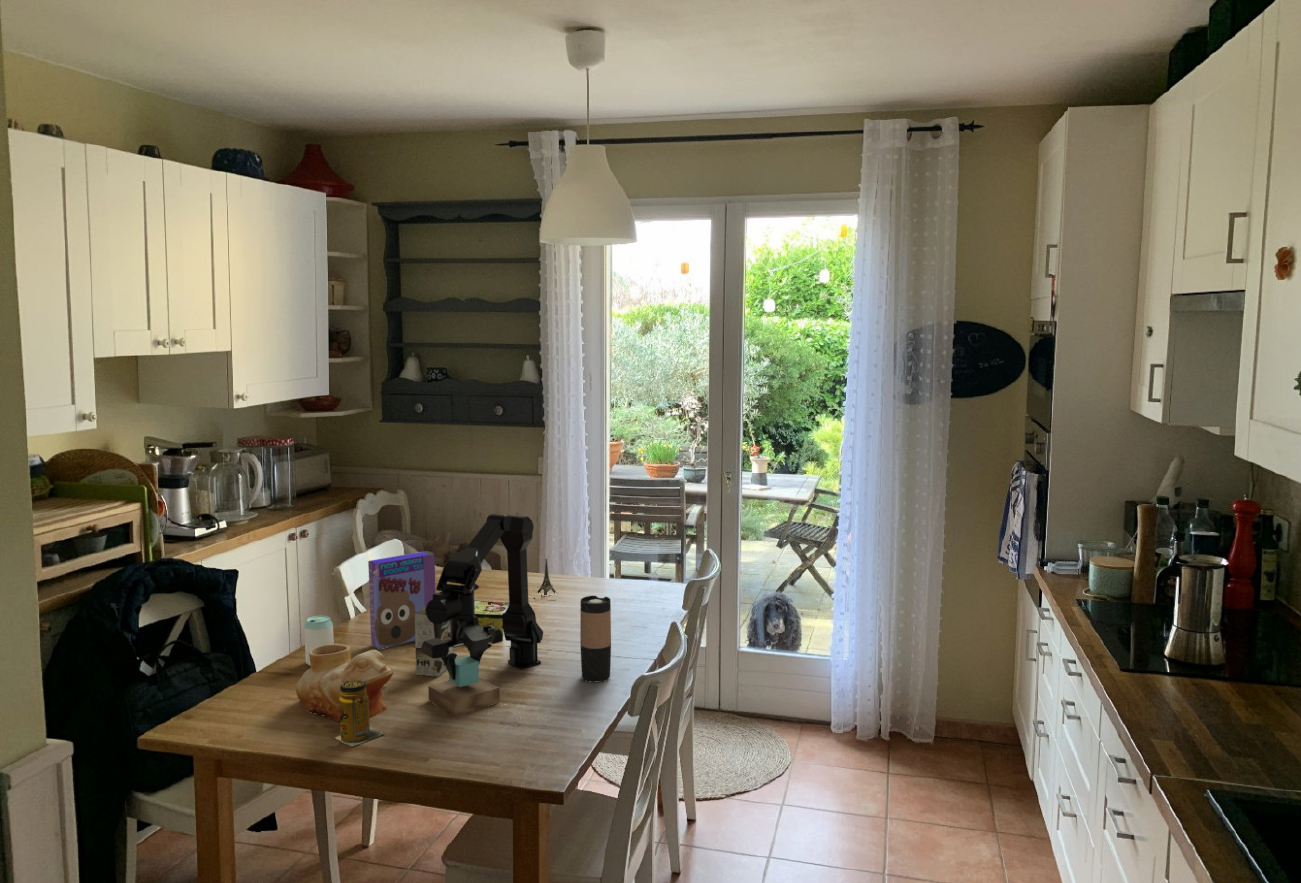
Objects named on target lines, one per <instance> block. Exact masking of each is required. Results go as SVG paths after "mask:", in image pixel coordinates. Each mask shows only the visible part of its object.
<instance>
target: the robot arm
mask: <svg viewBox="0 0 1301 883" xmlns="http://www.w3.org/2000/svg"><path fill="white" fill-rule="evenodd" d="M533 533H534V523H533V520H532V519H531V518H530V517H529V516H526V515H518V514H516V515H515V514H500V513H492V514H489V515H488V516H487V518H486V521H485V523H484V524H483V526H482V527H481V528H480V529H479V531H478V532H477V533H476V535H475V536H474V537H473V538H472V539H471V540H470V542H469V543H468V545H467V546H466V547H465V548H464V549H462V550H460V551H457V552H455V553H454V554H453V555H451V557H449V558H448V559H447V560H446V561H445V563H444V566H443V568H442V570H441V574H440V577H439V580H438V582H437V585H436V586H435V591H438V592H436V593H435V594H433V600H431V601H429V602H428V604H427V606H426V608H425V612H426V616H427V618H428V619H429V621H430V622H432V623H433V624H436V625H438V624H442V623H444V622H446V621H448V620H449V621H450V632H448V633H447V637H449V638H450V640H447V641H443V640H441V639H439V638H435V639H430V640H426V641H424V642H423V644H422V646H421V649H422V653H423V654H425V655H427V656H429V657H431V658H440V657H441V659H442V660H443V662H444V664H445V666H446V668H447V670H446V671H447V672H448V675H449V674H450V676H451V679H453V680H455V678H456V670H455V659H457V658H458V657H457V656H458V654H457V653H455V652H454V648H458V647H462V646H465V648H466V649H467V651H469V657H471V658H473V659H475V660H477V661H478V662H479V664H480V663H481V659H482V657H483V655H484V653H485V652H486V651H487V650H488V649H490V648H492V645H495V644H497V643H502V642H503V641H504V640H505V642H510V647H509V649H508V650H509V660H507V663H508V664H510V665H513V666H514V667H516V668H518V669H525V668H528V667H532V666H535V665H540V664H542V661H541V660H539V658H538V644H540V643H542V640H543V637H544V630H543V629H542V628H541V626H540V625H539V624H538V623H537V618H536V612H535V611H534V609H533V608H532V606H531V604H530V603H529V602H530V601H529V597H528V596H529V585H528V582H529V580H528V558H527V557H528V556H527V554H528V552H527V548H528V546H529V545H530V544H531V542H532V539H533V536H534V535H533ZM499 540H500V542H501V544H502V545H503V547H504V548H505V550H506V559H507V560H506V561H507V580H508V581H507V582H508V584H507V585H508V587H507V588H508V606H507V608H506V609H505V612H503V613H502V614H501V623H502V624H501V629H502V630H501V629H500V628H497V627H495V626H494V625H493V624H488V625H484V626H482V625H481V626H480V623H479V622H480V621H479V618H478V616H476V611H475V608H476V607H475V604H476V603H475V591H476V590H478V589H479V588H480V586H479V585H478V584H477V583H476V582H477V580H478V579H479V577H480V574H481V573H482V571H483V568H482V566H483V565H482V563H483V561H484V559H485V558H486V557H487V555H489V553H490V551H491V550H492V549H493V548H494V547H495V545H496V543H497V542H498V541H499ZM490 643H491V644H490Z"/></svg>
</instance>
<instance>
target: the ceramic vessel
mask: <svg viewBox="0 0 1301 883" xmlns="http://www.w3.org/2000/svg"><path fill="white" fill-rule="evenodd" d="M351 654H352V653H351V647H350V646H348V645H346V644H343V643H342V644H341V643H334V644H326V645H321V646H318V647H315V648H313V649H311V650H310V652H309V658H310V663H311V666H310V668H308V669H307V670H306V671H305V672H304V673H303V674H302V675H301V677H300V679H299V680H298V681H297V683H296V686H295V693H296V696H297V698H298V699H299V700H298V701H300V704H301V705H302V706H303V708H304V710H305V709H306V710H308V711H309V712H312V713H316V714H315V715H317V714H318V716H319V715H324V716H323V717H325V718H328V717H330V718H329V719H332V720H334V721H337V722H339V723H340V709H339V698H340V696H341V694H340V693H341V689H340V687H341V685H342V684H343V683H345V682H347V681H352V680H361V681H364V682H365V683H366V690H367V691H366V693H367V694H368V699H369V719H372V718H373V717H376V716H378V715H379V714H381V713H383V712H384V710H385V711H386V710H387V705H386V703H385V702H384V699H383V687H384V686H385V685H386V684H387V683H388V682H389V681H390V679H392V676H393V675H394V670H393V669H392V668H390V667H388V666H387V665H386V664H385V657H384V655H383V654H382V653H381V652H380V650H378V649H377V650H376V649H370V650H367V651H365V652H362V653H359V654H357V655H355V656H353V658H352V655H351ZM306 710H305V711H306ZM308 711H307V712H308ZM382 711H383V712H382ZM309 712H308V713H309ZM312 713H311V714H312Z"/></svg>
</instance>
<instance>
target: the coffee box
mask: <svg viewBox="0 0 1301 883" xmlns="http://www.w3.org/2000/svg"><path fill="white" fill-rule="evenodd" d="M425 608H426V607H424V608H423V609H421V610H420V611H418V612H417V613H415V642H414V643H415V645H414V647H415V675H416V676H423V675H425V676H426V677H434V676H435V677H436V678H438V677H439V676H441V675H442V674H443V673H444V672H446V671H448V670H447V668H446V666H445V664H444V662H443V660H442V659H441V657H440V658H431V657H429V656H427V655H425V654H423V653H422V649H421V646H422V644H423V642H424V641H426V640H430V639H435V638H439V639H441V640H443V641H447V640H450V638H449V637H447V633H448V632H450V621H449V620H448V621H446V622H444V623H442V624H438V625H436V624H433V623H432V622H430V621H429V619H428V618H427V616H426V612H425Z"/></svg>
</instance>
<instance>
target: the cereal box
mask: <svg viewBox="0 0 1301 883" xmlns="http://www.w3.org/2000/svg"><path fill="white" fill-rule="evenodd" d="M367 564H368V587H369V588H368V590H369V618H370V621H369V622H370V644H371V645H373V646H374V647H373V646H372V647H373V648H375V647H376V648H375V649H377V648H378V649H381V650H383V649H382V648H385V649H387V648H386V647H389V648H392V647H391V646H394V647H396V646H395V645H398V646H401V645H400V644H402V645H406V644H409V643H415V613H417V612H418V611H420V610H421V609H423V608H424V607H426V606H427V604H428V602H429V601H431V600H433V594H435V593H437V592H436V562H435V553H433V552H432V551H428V550H425V551H424V550H423V551H418V552H411V553H407V554H401V555H395V556H390V557H383V558H377V559H372V560H368V562H367ZM378 649H377V650H378Z"/></svg>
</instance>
